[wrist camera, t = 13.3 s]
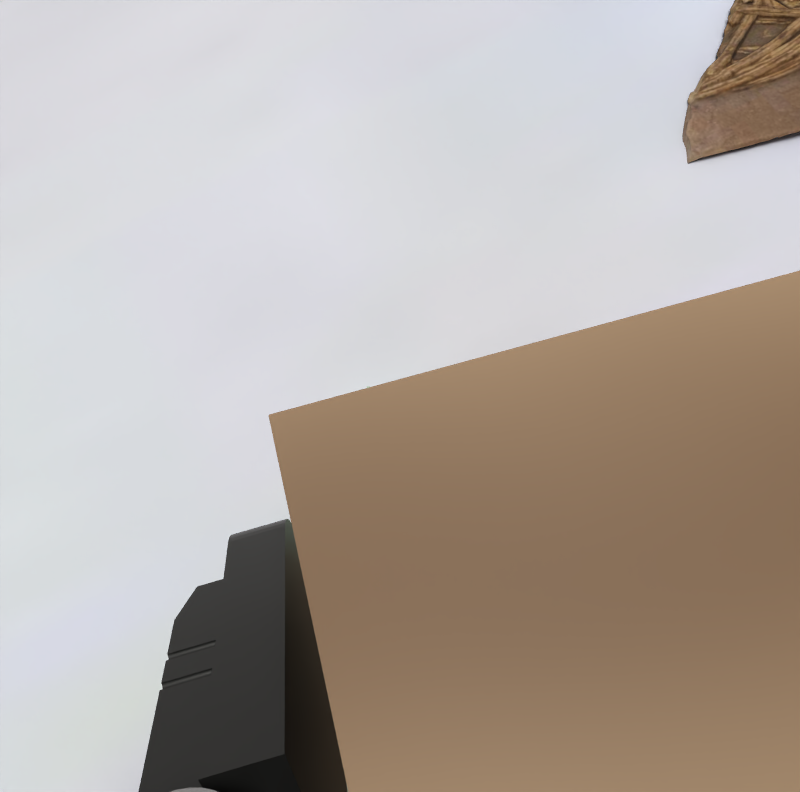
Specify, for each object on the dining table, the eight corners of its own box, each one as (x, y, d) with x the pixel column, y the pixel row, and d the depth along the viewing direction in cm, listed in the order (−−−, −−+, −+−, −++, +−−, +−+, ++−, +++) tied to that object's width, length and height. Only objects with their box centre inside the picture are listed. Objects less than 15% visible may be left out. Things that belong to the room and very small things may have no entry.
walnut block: (722, 770, 13) (1225, 944, 4) (446, 850, 13) (432, 1188, 4) (619, 498, 15) (841, 260, 6) (375, 565, 15) (268, 415, 6)
